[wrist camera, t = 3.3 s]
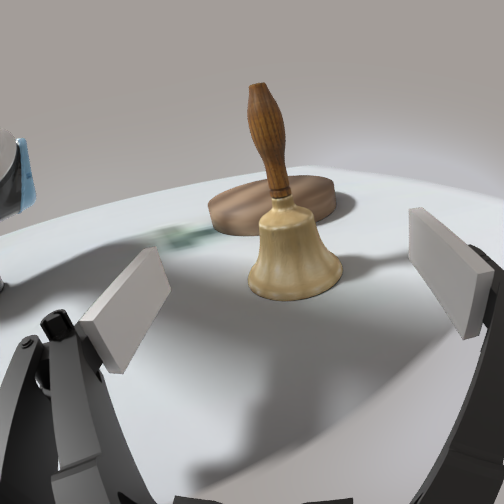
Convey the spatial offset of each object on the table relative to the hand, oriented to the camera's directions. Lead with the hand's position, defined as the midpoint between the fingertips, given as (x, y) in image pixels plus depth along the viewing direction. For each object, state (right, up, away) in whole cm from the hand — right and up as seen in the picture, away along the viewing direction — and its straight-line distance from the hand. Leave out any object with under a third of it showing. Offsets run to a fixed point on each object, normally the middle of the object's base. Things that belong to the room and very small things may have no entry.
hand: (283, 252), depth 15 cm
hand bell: (+2, -2, +12) cm, 12 cm away
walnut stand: (+2, +6, +29) cm, 30 cm away
